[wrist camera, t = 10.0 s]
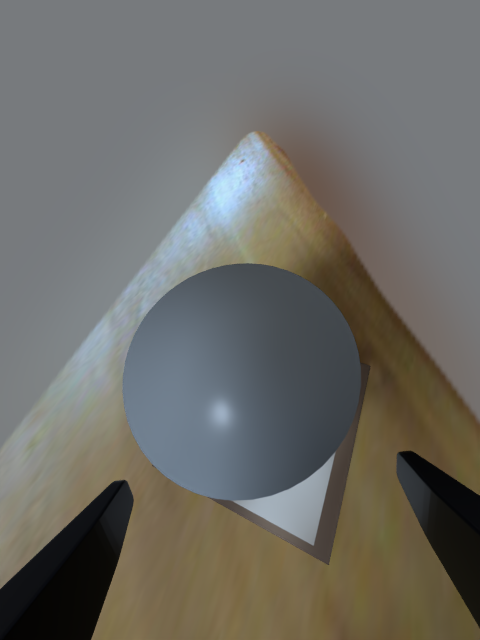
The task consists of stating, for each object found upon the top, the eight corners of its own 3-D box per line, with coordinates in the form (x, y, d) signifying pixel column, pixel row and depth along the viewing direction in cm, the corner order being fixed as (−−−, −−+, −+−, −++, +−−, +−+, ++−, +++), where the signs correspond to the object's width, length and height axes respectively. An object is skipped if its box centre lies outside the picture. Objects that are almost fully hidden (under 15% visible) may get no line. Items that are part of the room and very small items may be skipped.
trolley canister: (314, 391, 18) (382, 292, 6) (290, 476, 16) (322, 566, 4) (242, 364, 19) (188, 246, 8) (211, 438, 17) (76, 426, 6)
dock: (360, 374, 20) (371, 365, 18) (321, 548, 16) (329, 566, 14) (228, 330, 24) (222, 317, 21) (166, 463, 19) (150, 465, 17)
